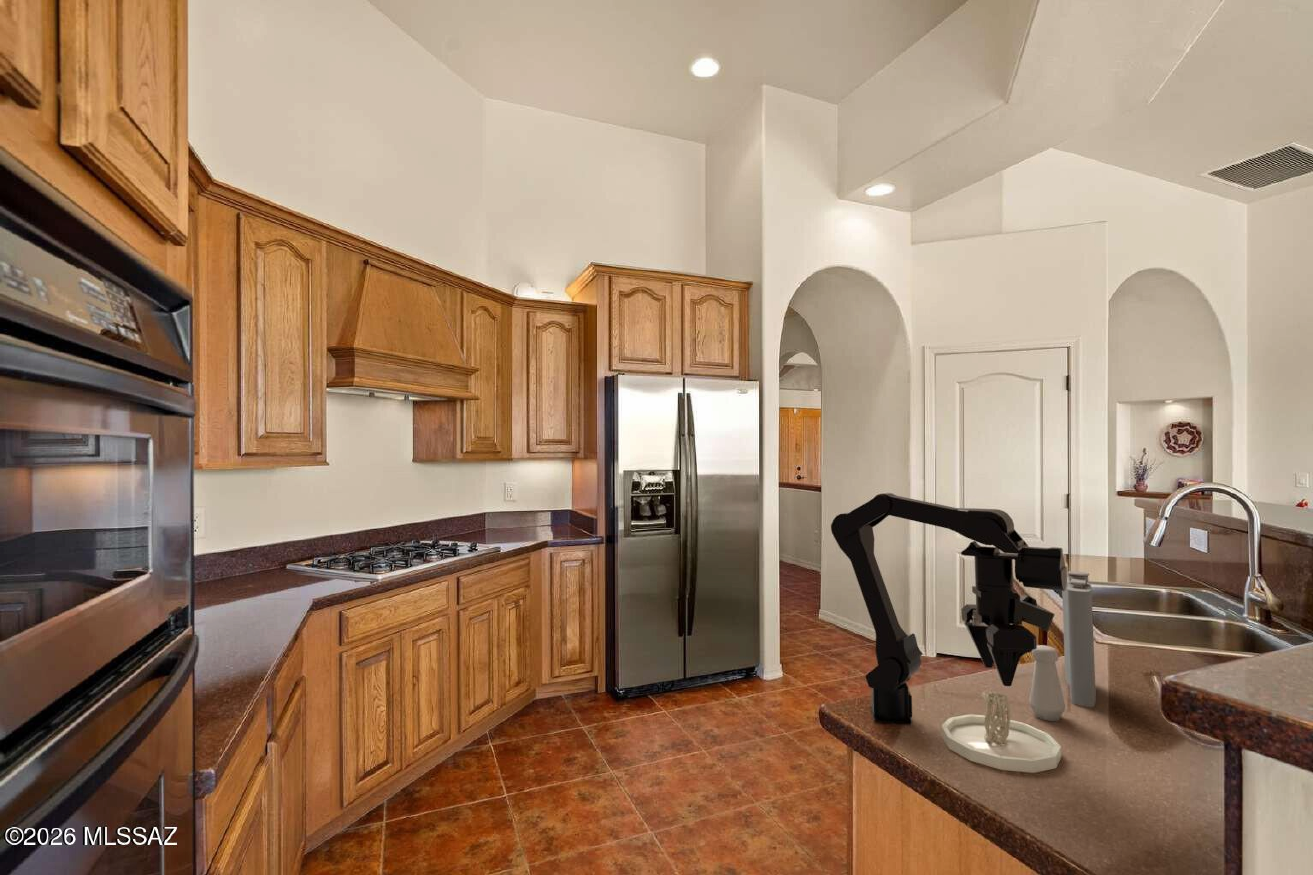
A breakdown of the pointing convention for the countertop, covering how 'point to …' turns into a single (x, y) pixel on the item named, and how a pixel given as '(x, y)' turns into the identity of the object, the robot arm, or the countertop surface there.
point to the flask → (1079, 639)
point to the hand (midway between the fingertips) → (997, 676)
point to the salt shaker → (1046, 685)
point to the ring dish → (1002, 745)
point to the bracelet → (999, 706)
